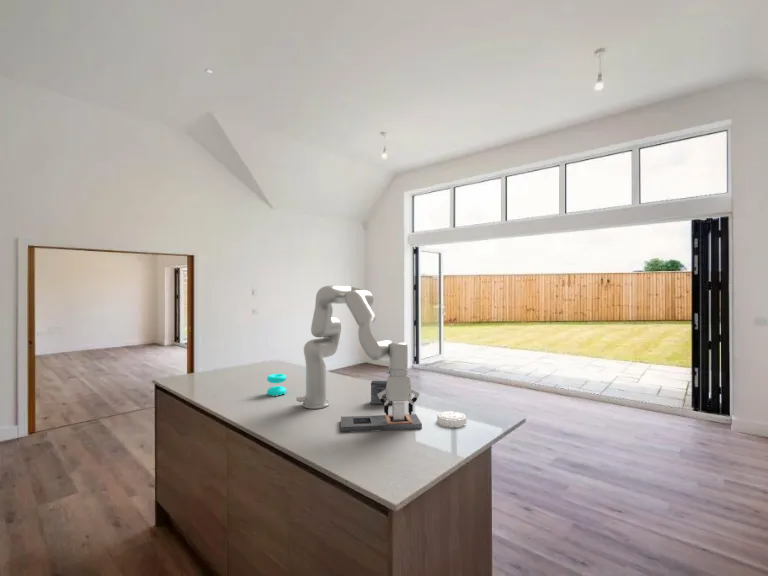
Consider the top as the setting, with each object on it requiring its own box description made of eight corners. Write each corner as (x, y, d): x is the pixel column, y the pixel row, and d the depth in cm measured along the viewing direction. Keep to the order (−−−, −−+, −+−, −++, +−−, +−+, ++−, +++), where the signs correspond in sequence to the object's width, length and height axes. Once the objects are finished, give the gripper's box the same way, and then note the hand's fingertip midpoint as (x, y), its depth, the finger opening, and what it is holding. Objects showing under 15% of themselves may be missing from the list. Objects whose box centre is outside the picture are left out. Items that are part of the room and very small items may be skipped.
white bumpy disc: (447, 429, 150) (447, 420, 150) (431, 420, 161) (431, 411, 161) (472, 425, 155) (472, 416, 155) (455, 416, 166) (455, 408, 166)
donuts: (290, 373, 204) (279, 378, 195) (290, 392, 204) (279, 397, 195) (274, 372, 207) (263, 376, 198) (274, 391, 207) (263, 395, 197)
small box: (393, 401, 188) (393, 380, 188) (392, 405, 181) (392, 383, 181) (372, 400, 189) (372, 379, 189) (370, 404, 182) (370, 383, 182)
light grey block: (393, 426, 153) (393, 404, 153) (392, 422, 157) (392, 401, 158) (404, 426, 154) (404, 404, 154) (402, 422, 158) (402, 400, 158)
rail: (340, 432, 147) (340, 426, 147) (341, 421, 159) (341, 416, 159) (421, 428, 150) (421, 423, 150) (415, 418, 162) (415, 413, 162)
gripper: (378, 374, 151) (378, 417, 151) (421, 373, 153) (421, 416, 153) (376, 370, 158) (376, 411, 158) (417, 369, 160) (417, 410, 160)
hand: (398, 413), depth 156 cm, fingers open, 9 cm apart
